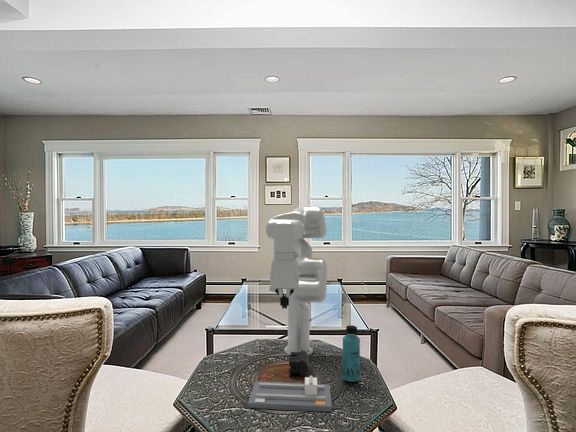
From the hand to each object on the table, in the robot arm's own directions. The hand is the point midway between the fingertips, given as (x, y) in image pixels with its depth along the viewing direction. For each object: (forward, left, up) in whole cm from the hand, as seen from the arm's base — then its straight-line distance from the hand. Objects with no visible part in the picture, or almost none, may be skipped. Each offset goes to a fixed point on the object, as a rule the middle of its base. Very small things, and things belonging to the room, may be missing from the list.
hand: (284, 307), depth 123 cm
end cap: (-10, +5, -28) cm, 30 cm away
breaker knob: (+9, +10, -26) cm, 29 cm away
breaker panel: (+9, +3, -27) cm, 29 cm away
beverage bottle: (-4, +24, -28) cm, 37 cm away
